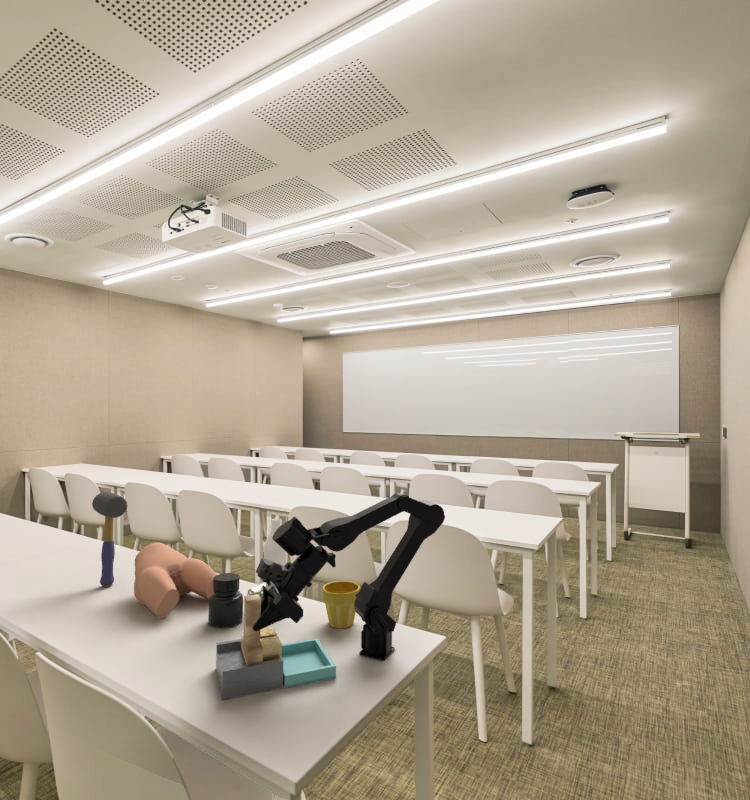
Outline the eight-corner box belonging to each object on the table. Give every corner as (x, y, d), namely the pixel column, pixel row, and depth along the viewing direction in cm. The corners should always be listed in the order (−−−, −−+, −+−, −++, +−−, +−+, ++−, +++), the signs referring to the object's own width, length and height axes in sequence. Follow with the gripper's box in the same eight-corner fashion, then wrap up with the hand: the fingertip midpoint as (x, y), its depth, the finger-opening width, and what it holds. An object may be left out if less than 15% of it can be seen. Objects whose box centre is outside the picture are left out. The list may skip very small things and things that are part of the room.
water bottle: (288, 599, 148) (290, 517, 148) (285, 609, 140) (286, 522, 141) (265, 599, 147) (266, 516, 148) (260, 609, 140) (262, 521, 141)
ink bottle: (250, 617, 134) (250, 573, 135) (232, 630, 126) (233, 583, 126) (219, 613, 137) (220, 570, 137) (200, 625, 128) (201, 580, 129)
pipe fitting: (247, 603, 146) (270, 600, 147) (246, 590, 146) (269, 587, 147) (248, 594, 153) (270, 591, 155) (248, 581, 153) (269, 579, 155)
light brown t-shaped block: (254, 645, 109) (256, 589, 109) (262, 665, 100) (263, 604, 100) (241, 648, 107) (242, 591, 108) (247, 668, 99) (248, 606, 99)
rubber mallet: (126, 587, 156) (129, 494, 157) (101, 594, 150) (104, 496, 151) (112, 578, 164) (114, 489, 165) (87, 584, 158) (90, 492, 159)
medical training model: (151, 635, 131) (160, 592, 129) (113, 586, 147) (120, 548, 145) (218, 611, 148) (227, 573, 146) (178, 570, 163) (185, 535, 161)
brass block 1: (272, 644, 110) (273, 626, 110) (276, 652, 106) (276, 633, 106) (255, 647, 108) (255, 629, 108) (258, 655, 105) (258, 636, 105)
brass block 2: (277, 654, 105) (277, 635, 105) (281, 663, 102) (281, 643, 102) (258, 657, 104) (259, 638, 104) (262, 666, 100) (262, 647, 100)
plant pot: (313, 622, 131) (314, 586, 132) (342, 612, 139) (343, 577, 139) (338, 635, 124) (339, 596, 124) (367, 623, 131) (368, 587, 131)
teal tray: (317, 648, 116) (317, 638, 117) (335, 677, 104) (336, 666, 104) (271, 657, 112) (271, 646, 112) (284, 688, 99) (285, 676, 99)
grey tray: (270, 658, 112) (271, 634, 112) (282, 687, 100) (283, 660, 100) (215, 668, 107) (216, 643, 107) (222, 700, 95) (222, 671, 95)
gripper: (270, 536, 115) (221, 588, 110) (288, 557, 98) (231, 621, 93) (302, 566, 118) (255, 618, 113) (325, 591, 101) (271, 655, 96)
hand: (252, 626), depth 104 cm, fingers closed on light brown t-shaped block, 3 cm apart
